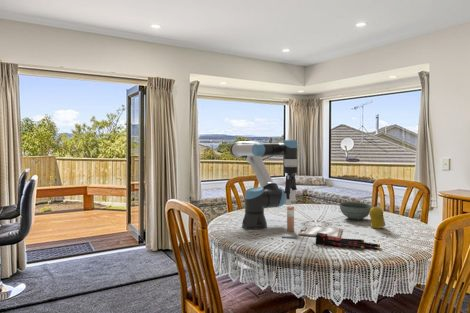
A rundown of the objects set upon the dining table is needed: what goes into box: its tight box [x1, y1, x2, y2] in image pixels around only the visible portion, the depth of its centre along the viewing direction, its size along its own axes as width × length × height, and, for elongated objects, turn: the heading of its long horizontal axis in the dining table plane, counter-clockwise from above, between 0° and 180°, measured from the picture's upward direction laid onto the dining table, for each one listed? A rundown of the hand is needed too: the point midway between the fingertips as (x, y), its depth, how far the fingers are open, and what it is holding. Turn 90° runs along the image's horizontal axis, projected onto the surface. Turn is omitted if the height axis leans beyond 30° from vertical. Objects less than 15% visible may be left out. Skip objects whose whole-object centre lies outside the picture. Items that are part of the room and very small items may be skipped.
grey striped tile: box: [281, 233, 298, 239], centre depth 187 cm, size 8×6×1 cm
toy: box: [315, 233, 381, 251], centre depth 169 cm, size 8×5×30 cm
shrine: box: [368, 204, 386, 230], centre depth 202 cm, size 12×8×15 cm
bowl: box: [338, 201, 373, 222], centre depth 227 cm, size 21×21×10 cm
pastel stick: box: [286, 205, 295, 233], centre depth 198 cm, size 4×4×14 cm
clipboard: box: [297, 225, 343, 238], centre depth 194 cm, size 22×20×2 cm
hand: (290, 203), depth 198 cm, fingers open, 13 cm apart
